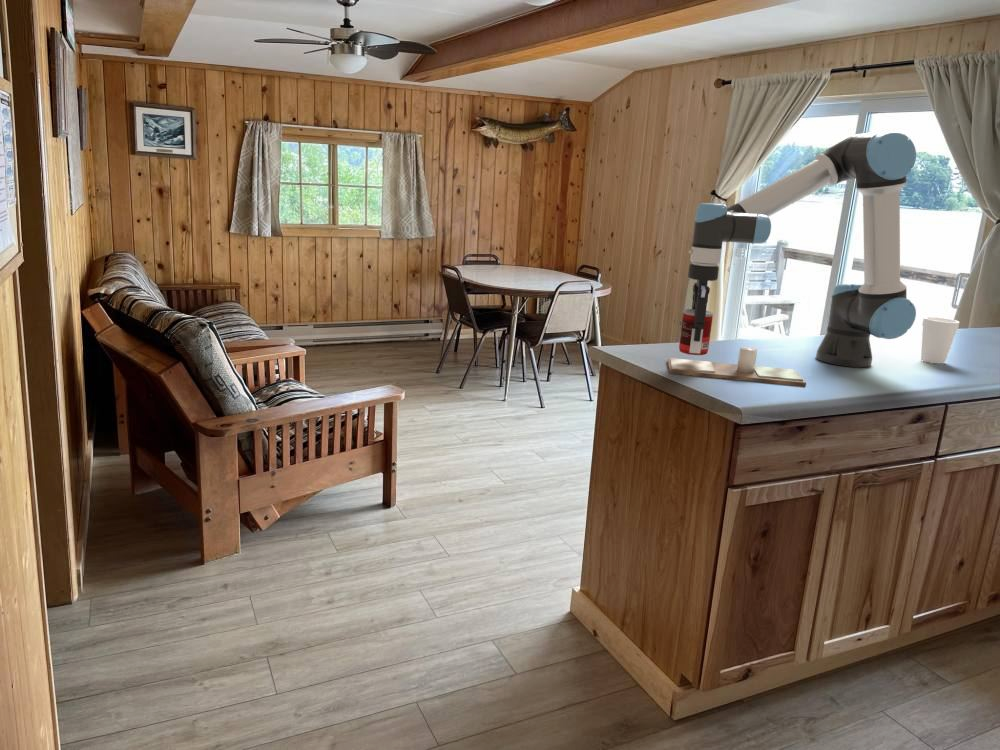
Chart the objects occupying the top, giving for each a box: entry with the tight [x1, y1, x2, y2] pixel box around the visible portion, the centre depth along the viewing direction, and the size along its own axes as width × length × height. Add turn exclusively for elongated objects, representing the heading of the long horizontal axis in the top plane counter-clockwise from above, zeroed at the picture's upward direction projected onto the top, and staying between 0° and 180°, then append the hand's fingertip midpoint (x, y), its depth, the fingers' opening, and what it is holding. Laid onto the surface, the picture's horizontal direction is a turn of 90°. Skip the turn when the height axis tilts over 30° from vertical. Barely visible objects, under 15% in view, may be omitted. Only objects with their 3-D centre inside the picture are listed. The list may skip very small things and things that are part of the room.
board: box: [667, 357, 807, 387], centre depth 199 cm, size 34×14×1 cm, turn 80°
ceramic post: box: [737, 346, 758, 373], centre depth 197 cm, size 4×4×6 cm
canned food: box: [678, 308, 714, 356], centre depth 198 cm, size 8×8×11 cm
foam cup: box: [920, 316, 960, 364], centre depth 226 cm, size 10×9×13 cm
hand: (693, 349), depth 199 cm, fingers closed on canned food, 8 cm apart
